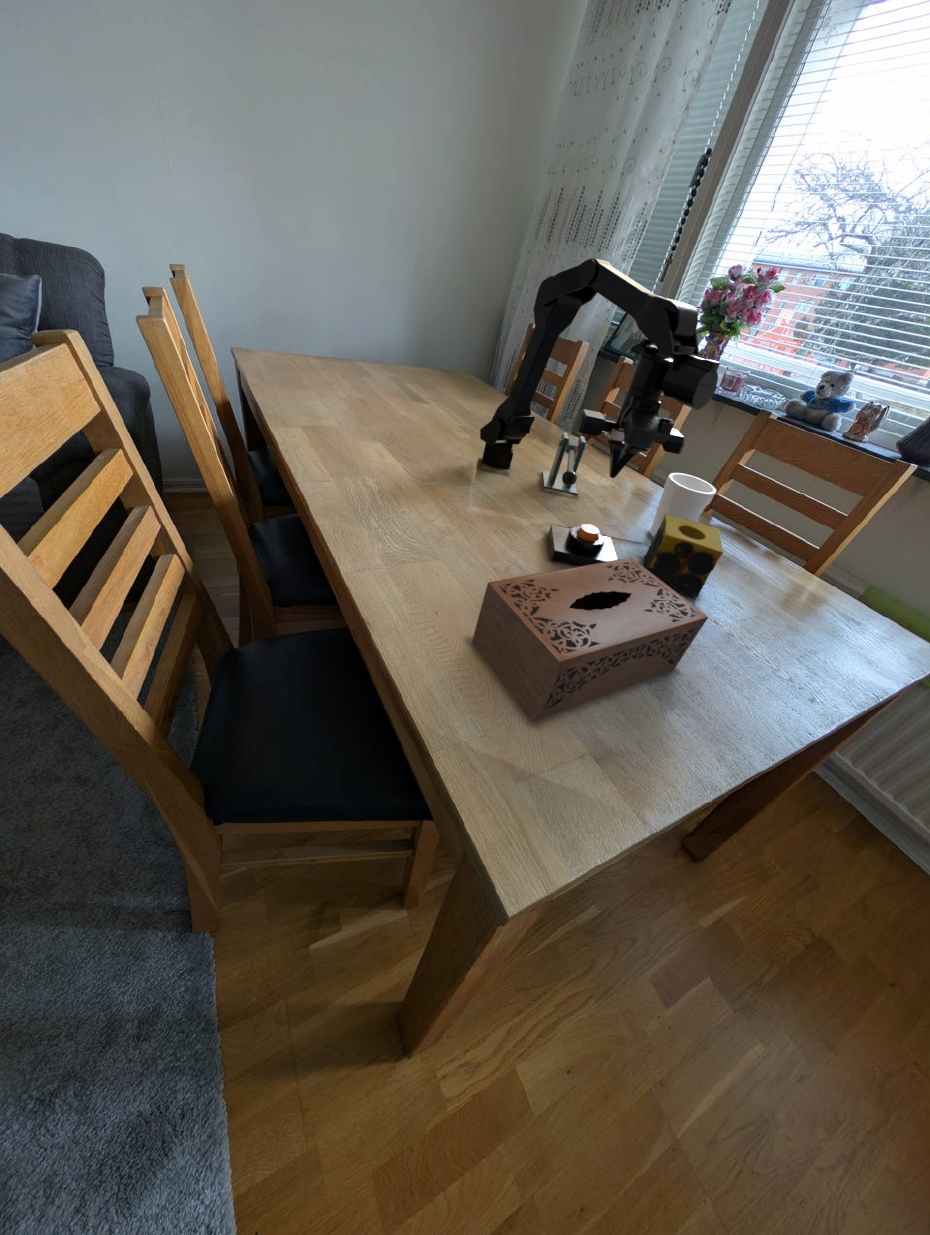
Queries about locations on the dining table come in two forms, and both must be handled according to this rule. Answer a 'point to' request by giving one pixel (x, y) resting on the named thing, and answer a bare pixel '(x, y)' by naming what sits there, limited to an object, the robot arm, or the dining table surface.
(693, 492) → the foam cup
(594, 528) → the button
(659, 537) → the yellow cube tissue box
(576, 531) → the button box
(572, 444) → the lever
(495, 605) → the tissue box cover
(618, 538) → the dining table surface
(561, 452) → the teal pendulum stand
